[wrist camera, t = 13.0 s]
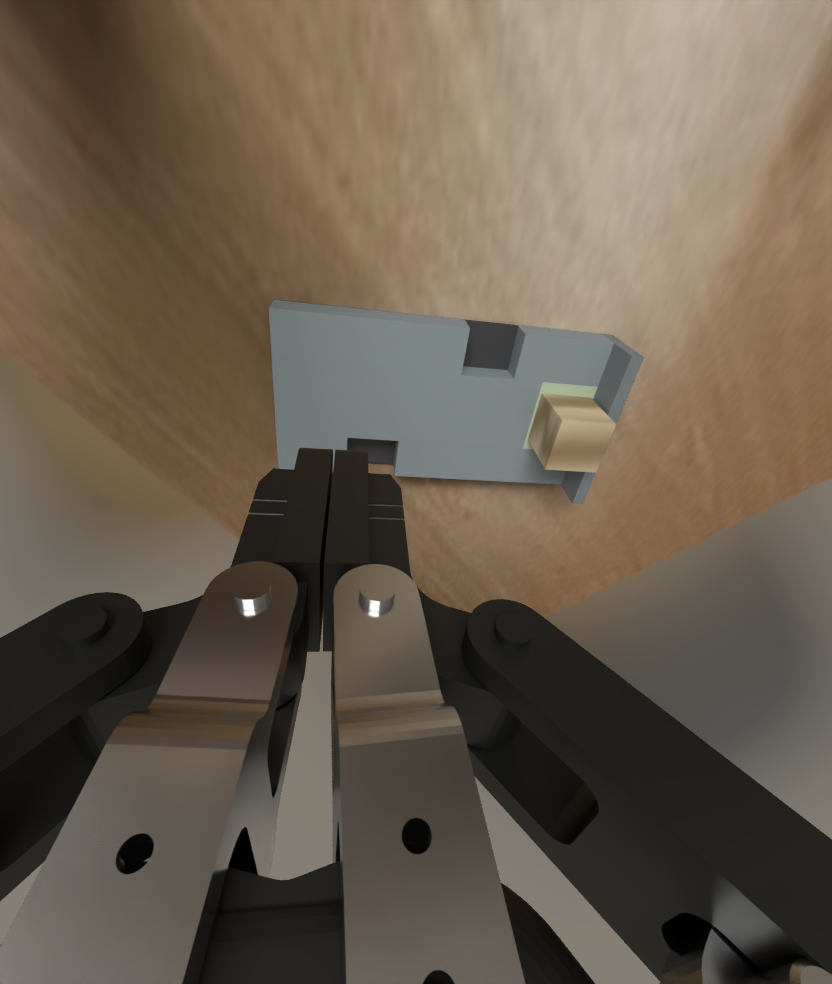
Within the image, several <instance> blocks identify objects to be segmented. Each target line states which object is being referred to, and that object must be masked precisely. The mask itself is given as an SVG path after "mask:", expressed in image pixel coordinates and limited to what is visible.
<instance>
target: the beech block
mask: <svg viewBox="0 0 832 984" xmlns="http://www.w3.org/2000/svg"><path fill="white" fill-rule="evenodd" d="M615 427H616V424H615V422H614V421H613V420H612V419H611V418H610V417H609V416H608V415H607V414H606V413H605V412H604V411H603V410H602V409H601V408H600V407H599V406H598V404H597V403H596V402H595V401H594V400H593V399H592V398H590V397H578V396H567V395H555V394H544V393H542V395H541V398H540V401H539V404H538V408H537V411H536V414H535V418H534V421H533V424H532V427H531V431H530V434H529V437H528V441H529V442H530V444H531V446H532V447H533V449H534V451H535V453H536V454H537V456H538V458H539V460H540V461H541V463H542V465H543V467H544V468H545V469H546V470H562V471H579V472H595V473H596V472H597V469H598V467H599V465H600V462H601V460H602V457H603V455H604V453H605V450H606V448H607V446H608V443H609V441H610V439H611V436H612V434H613V432H614V429H615Z"/></svg>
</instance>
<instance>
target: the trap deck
mask: <svg viewBox="0 0 832 984" xmlns="http://www.w3.org/2000/svg"><path fill="white" fill-rule="evenodd" d="M269 322H270V338H271V355H272V373H273V389H274V405H275V422H276V437H277V453H278V469H292V470H294V467H295V463H296V459H297V454H298V450H299V448H300V447H301V448H318V449H333V468H334V459H335V450H353V451H368V463H386V464H394V475H395V476H407V477H426V478H445V479H464V480H483V481H502V482H521V483H540V484H559V485H562V487H563V488H564V490H565V492H566V493H567V495H568V497H569V498H570V500H571V502H572V503H577V504H583V501H584V499H585V497H586V494H587V492H588V489H589V487H590V485H591V482H592V480H593V478H594V475H595V472H579V471H562V470H546V469H545V468H544V467H543V465H542V463H541V461H540V460H539V458H538V456H537V454H536V453H535V451H534V449H533V447H532V446H531V444H530V442H529V441H528V437H529V434H530V431H531V427H532V424H533V421H534V418H535V414H536V411H537V408H538V404H539V401H540V398H541V395H542V393H544V394H555V395H567V396H578V397H590V398H592V399H593V400H594V401H595V402H596V403H597V404H598V406H599V407H600V408H601V409H602V410H603V411H604V412H605V413H606V414H607V415H608V416H609V417H610V418H611V419H612V420H613V421H614V422H615V424H616V423H617V420H618V418H619V416H620V413H621V411H622V408H623V406H624V404H625V401H626V399H627V397H628V394H629V392H630V389H631V387H632V385H633V382H634V380H635V378H636V375H637V373H638V370H639V368H640V366H641V363H642V361H643V358H644V357H643V356H641V355H640V354H638V353H637V352H636V351H634V350H633V349H632V348H630V347H629V346H627V345H626V344H625V343H623V342H622V341H620V340H619V339H618V338H616V337H615V336H613V335H606V334H597V333H587V332H577V331H568V330H558V329H549V328H539V327H529V326H520V325H510V324H501V323H491V322H482V321H472V320H462V319H453V318H443V317H434V316H424V315H414V314H405V313H395V312H386V311H376V310H367V309H357V308H347V307H338V306H328V305H319V304H309V303H300V302H290V301H280V300H273V302H272V304H271V305H270V307H269Z"/></svg>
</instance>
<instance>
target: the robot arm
mask: <svg viewBox="0 0 832 984" xmlns="http://www.w3.org/2000/svg"><path fill="white" fill-rule="evenodd" d="M322 619H323V651H332V668H331V669H332V670H331V735H332V788H333V789H332V790H333V792H332V794H333V863H332V864H330V865H327V866H325V867H322V868H319V869H317V870H314V871H312V872H309V873H307V874H304V875H302V876H299V877H296V878H293V879H290V880H282V881H281V880H275V879H271V878H269V876H270V870H271V865H272V859H273V853H274V846H275V838H276V827H277V815H278V808H279V802H280V796H281V791H282V786H283V781H284V776H285V771H286V766H287V761H288V756H289V751H290V746H291V741H292V736H293V731H294V726H295V721H296V716H297V711H298V706H299V701H300V697H301V688H302V682H303V679H304V674H305V666H306V657H307V652H308V651H310V652H315V651H316V652H318V651H319V650H320V640H321V629H322ZM475 777H476V778H477V779H478V780H479V781H480V782H481V783H482V785H483V786H484V787H485V788H486V789H487V790H488V791H489V792H490V794H491V795H492V796H493V797H494V798H495V799H496V800H497V801H498V802H499V804H500V805H501V806H502V807H503V808H504V809H505V810H506V811H507V812H508V813H509V815H510V816H511V817H512V818H513V819H514V820H515V821H516V822H517V823H518V824H519V826H520V827H521V828H522V829H523V830H524V831H525V832H526V833H527V834H528V835H529V837H530V838H531V839H532V840H533V841H534V842H535V843H536V844H537V846H538V847H539V848H540V849H541V850H542V851H543V852H544V853H545V854H546V856H547V857H548V858H549V859H550V860H551V861H552V862H553V863H554V864H555V865H556V867H557V868H558V869H559V870H560V871H561V872H562V873H563V874H564V875H565V877H566V878H567V879H568V880H569V881H570V882H571V883H572V884H573V885H574V886H575V888H576V889H577V890H578V891H579V892H580V893H581V894H582V895H583V897H584V898H585V899H586V900H587V901H588V902H589V903H590V904H591V905H592V906H593V908H594V909H595V910H596V911H597V912H598V913H599V914H600V915H601V916H602V918H603V919H604V920H605V921H606V922H607V923H608V924H609V925H610V926H611V928H612V929H613V930H614V931H615V932H616V933H617V934H618V935H619V936H620V937H621V939H622V940H623V941H624V942H625V943H626V944H627V945H628V946H629V947H630V949H631V950H632V951H633V952H634V953H635V954H636V955H637V956H638V957H639V958H640V960H641V961H642V962H643V963H644V964H645V965H646V966H647V967H648V969H649V970H650V971H651V972H652V973H653V974H654V975H655V976H656V977H657V978H658V980H659V981H660V984H832V840H831V839H830V838H829V837H827V836H826V835H825V834H824V833H822V832H821V831H820V830H819V829H817V828H816V827H814V826H813V825H812V824H811V823H809V822H808V821H807V820H806V819H804V818H803V817H802V816H800V815H799V814H798V813H796V812H795V811H794V810H792V809H791V808H790V807H789V806H787V805H786V804H785V803H784V802H782V801H781V800H779V799H778V798H777V797H776V796H774V795H773V794H772V793H771V792H769V791H768V790H767V789H765V788H764V787H763V786H761V785H760V784H759V783H758V782H756V781H755V780H754V779H752V778H751V777H750V776H748V775H747V774H746V773H744V772H743V771H742V770H741V769H739V768H738V767H737V766H736V765H734V764H733V763H732V762H730V761H729V760H728V759H726V758H725V757H724V756H723V755H721V754H720V753H719V752H717V751H716V750H715V749H713V748H712V747H711V746H709V745H708V744H707V743H706V742H704V741H703V740H702V739H700V738H699V737H698V736H697V735H695V734H694V733H693V732H691V731H690V730H689V729H688V728H686V727H685V726H684V725H682V724H681V723H680V722H678V721H677V720H676V719H675V718H673V717H672V716H671V715H669V714H668V713H666V711H664V710H663V709H662V708H660V707H659V706H658V705H656V704H655V703H654V702H653V701H651V700H650V699H649V698H647V697H646V696H645V695H643V694H642V693H641V692H640V691H638V690H637V689H636V688H634V687H633V686H632V685H630V684H629V683H627V681H625V680H624V679H623V678H621V677H620V676H619V675H617V674H616V673H615V672H614V671H612V670H611V669H610V668H608V667H607V666H606V665H604V664H603V663H602V662H601V661H599V660H598V659H597V658H595V657H594V656H593V655H592V654H590V653H589V652H588V651H586V650H585V649H584V648H582V647H581V646H580V645H579V644H577V643H576V642H575V641H573V640H572V639H571V638H570V637H568V636H567V635H566V634H564V633H563V632H562V631H560V630H559V629H558V628H556V627H555V626H554V625H553V624H551V623H550V622H549V621H547V620H546V619H545V618H544V617H542V616H541V615H540V614H538V613H537V612H536V611H534V610H533V609H531V608H530V607H528V606H526V605H524V604H521V603H518V602H515V601H511V600H504V599H497V600H490V601H487V602H484V603H482V604H480V605H479V606H477V607H476V608H475V609H474V610H473V612H472V613H469V612H465V611H462V610H458V609H455V608H451V607H448V606H445V605H442V604H440V603H438V602H435V601H433V600H432V599H430V598H429V597H427V596H426V595H425V594H424V593H422V592H421V591H420V590H419V588H418V587H417V586H416V584H415V583H414V581H413V579H412V577H411V573H410V566H409V557H408V548H407V539H406V530H405V521H404V511H403V502H402V493H401V488H400V487H399V485H398V484H397V483H396V481H395V480H394V479H393V477H392V476H391V475H389V474H370V473H368V451H353V450H335V459H334V468H333V449H318V448H301V447H300V448H299V450H298V454H297V459H296V463H295V467H294V470H292V469H272V470H271V471H270V472H269V473H268V474H267V475H266V476H265V477H264V478H262V479H261V480H260V481H259V483H258V486H257V489H256V492H255V495H254V500H253V501H252V504H251V507H250V510H249V515H248V516H247V519H246V522H245V525H244V528H243V531H242V534H241V538H240V541H239V544H238V547H237V550H236V553H235V556H234V559H233V562H232V565H231V567H230V568H229V569H227V570H225V571H223V572H221V573H220V574H219V575H217V576H216V577H215V578H214V579H213V580H212V581H211V583H210V584H209V585H208V587H207V589H206V590H205V592H204V595H202V596H200V597H198V598H195V599H193V600H190V601H188V602H184V603H180V604H176V605H172V606H168V607H163V608H159V609H155V610H150V611H147V612H142V609H141V607H140V605H139V604H138V603H137V602H136V601H135V600H134V599H132V598H130V597H128V596H126V595H123V594H119V593H109V592H105V593H94V594H89V595H85V596H81V597H77V598H75V599H72V600H70V601H67V602H65V603H63V604H61V605H59V606H57V607H55V608H54V609H52V610H50V611H48V612H46V613H45V614H43V615H41V616H39V617H38V618H36V619H34V620H32V621H30V622H28V623H27V624H25V625H23V626H21V627H19V628H18V629H16V630H14V631H12V632H11V633H9V634H7V635H5V636H3V637H1V638H0V901H1V900H2V899H3V898H4V897H5V896H6V895H8V894H9V893H10V892H11V891H12V890H13V889H14V888H15V887H17V886H18V885H19V884H20V883H21V882H22V881H23V880H24V879H25V878H26V877H27V876H29V875H30V874H31V873H32V872H33V871H34V870H35V869H36V868H37V867H39V866H40V865H41V864H42V863H43V862H44V861H45V862H44V864H43V866H42V868H41V870H40V871H39V873H38V875H37V877H36V879H35V881H34V883H33V885H32V887H31V889H30V891H29V893H28V895H27V897H26V899H25V901H24V902H23V904H22V906H21V908H20V910H19V912H18V914H17V916H16V918H15V919H14V921H13V923H12V925H11V927H10V929H9V931H8V933H7V935H6V937H5V939H4V941H3V942H2V944H1V945H0V984H595V983H594V982H593V980H592V979H591V978H590V977H589V975H588V974H587V973H586V971H585V970H584V969H583V968H582V966H581V965H580V964H579V962H578V961H577V960H576V959H575V957H574V956H573V955H572V954H571V952H570V951H569V950H568V948H567V947H566V946H565V945H564V943H563V942H562V941H561V939H560V938H559V937H558V936H557V934H555V932H554V931H553V930H552V928H551V927H550V926H549V925H548V924H547V923H546V921H545V920H544V919H543V918H542V917H541V916H540V915H539V914H538V913H537V912H536V911H535V910H534V909H533V908H532V907H531V906H530V905H529V904H528V903H527V902H526V901H524V900H523V899H522V898H521V897H519V896H518V895H517V894H516V893H514V892H513V891H512V890H511V889H509V888H508V887H507V886H505V885H504V884H502V883H501V882H500V878H499V874H498V870H497V866H496V862H495V858H494V853H493V849H492V845H491V841H490V837H489V833H488V829H487V825H486V821H485V817H484V812H483V808H482V804H481V800H480V796H479V792H478V788H477V784H476V780H475Z"/></svg>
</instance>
